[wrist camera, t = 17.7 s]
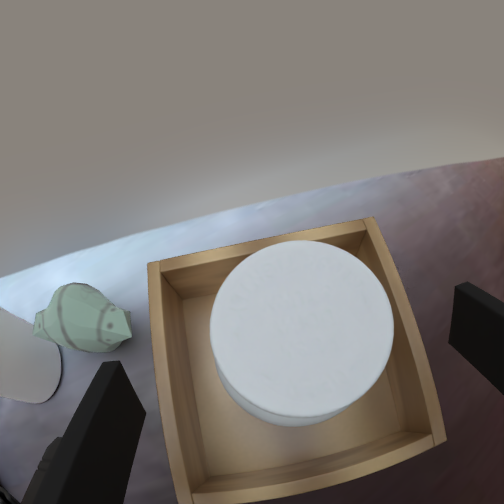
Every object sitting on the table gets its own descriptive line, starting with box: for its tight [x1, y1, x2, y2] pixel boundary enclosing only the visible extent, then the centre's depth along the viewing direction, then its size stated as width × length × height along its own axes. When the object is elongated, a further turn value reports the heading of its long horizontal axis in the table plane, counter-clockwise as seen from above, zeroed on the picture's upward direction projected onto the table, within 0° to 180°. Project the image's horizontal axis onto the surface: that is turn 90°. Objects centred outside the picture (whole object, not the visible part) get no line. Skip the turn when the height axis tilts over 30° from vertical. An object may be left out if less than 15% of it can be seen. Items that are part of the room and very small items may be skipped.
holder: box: [147, 217, 447, 504], centre depth 16 cm, size 14×14×5 cm
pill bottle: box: [210, 240, 394, 427], centre depth 13 cm, size 6×6×11 cm
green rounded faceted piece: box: [32, 283, 132, 353], centre depth 17 cm, size 8×4×7 cm, turn 94°
